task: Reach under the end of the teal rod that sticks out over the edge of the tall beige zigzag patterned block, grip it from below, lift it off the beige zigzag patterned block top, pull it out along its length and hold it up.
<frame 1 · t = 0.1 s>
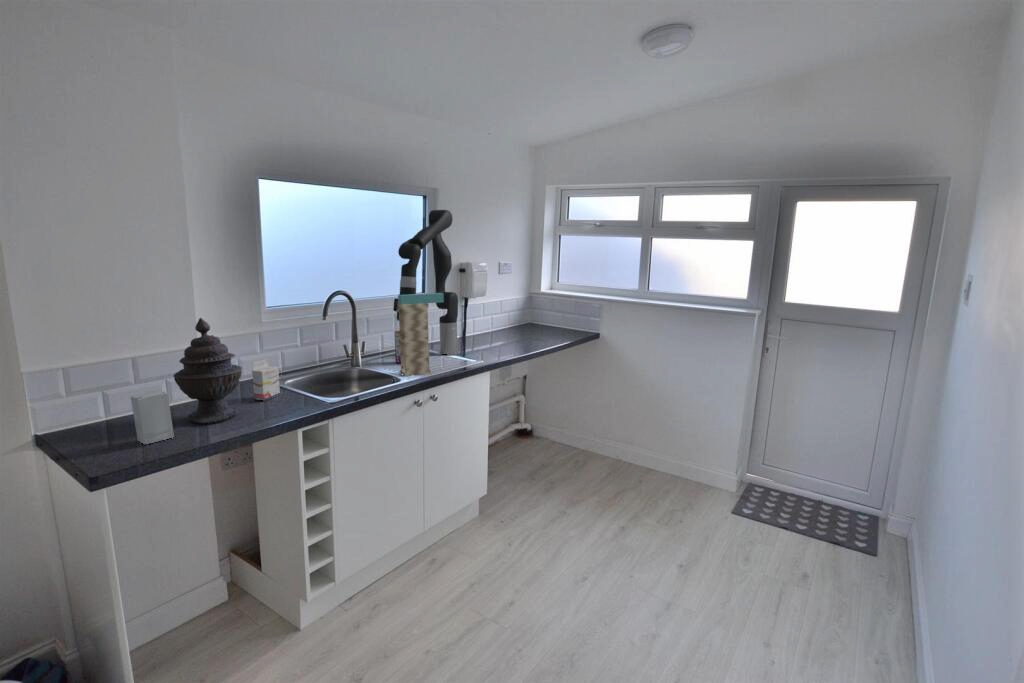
hand: (406, 321, 253), 22 cm above the worktop, tool pointing down, fingers open, 8 cm apart
ink cartridge box: (267, 398, 206), on the worktop
candy bar box: (407, 363, 267), on the worktop
beige zigzag patterned block: (415, 373, 245), on the worktop
skincare box: (155, 441, 162), on the worktop
decorative urn: (213, 417, 184), on the worktop
rod: (421, 303, 241), point 32 cm above the worktop, touching beige zigzag patterned block
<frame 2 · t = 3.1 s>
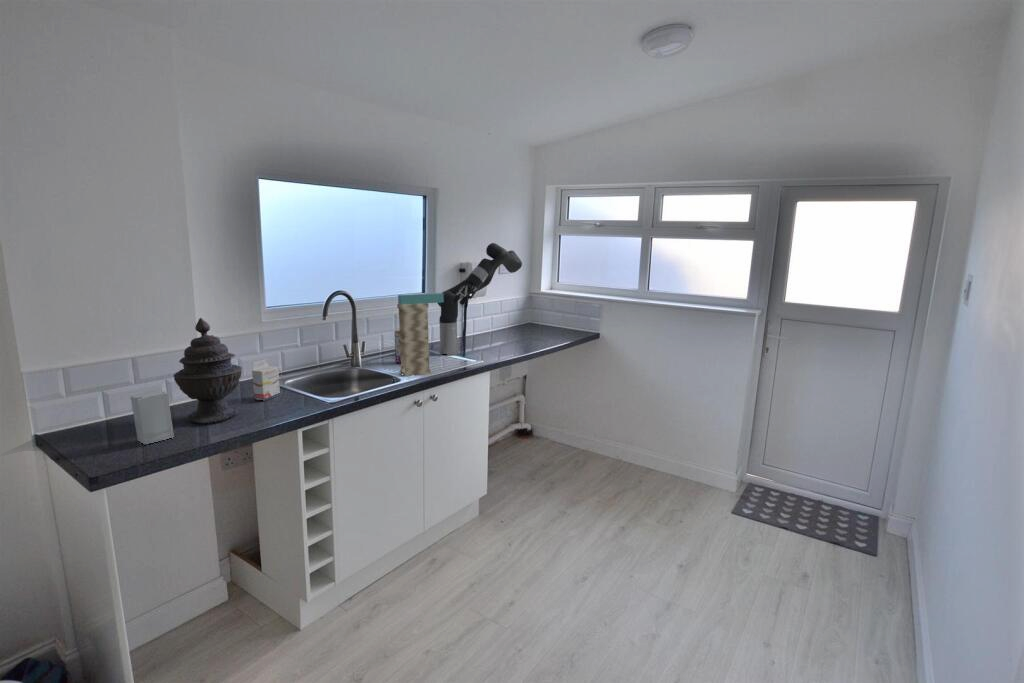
hand: (457, 303, 257), 30 cm above the worktop, tool tilted 45°, fingers open, 8 cm apart
nothing on the worktop moved.
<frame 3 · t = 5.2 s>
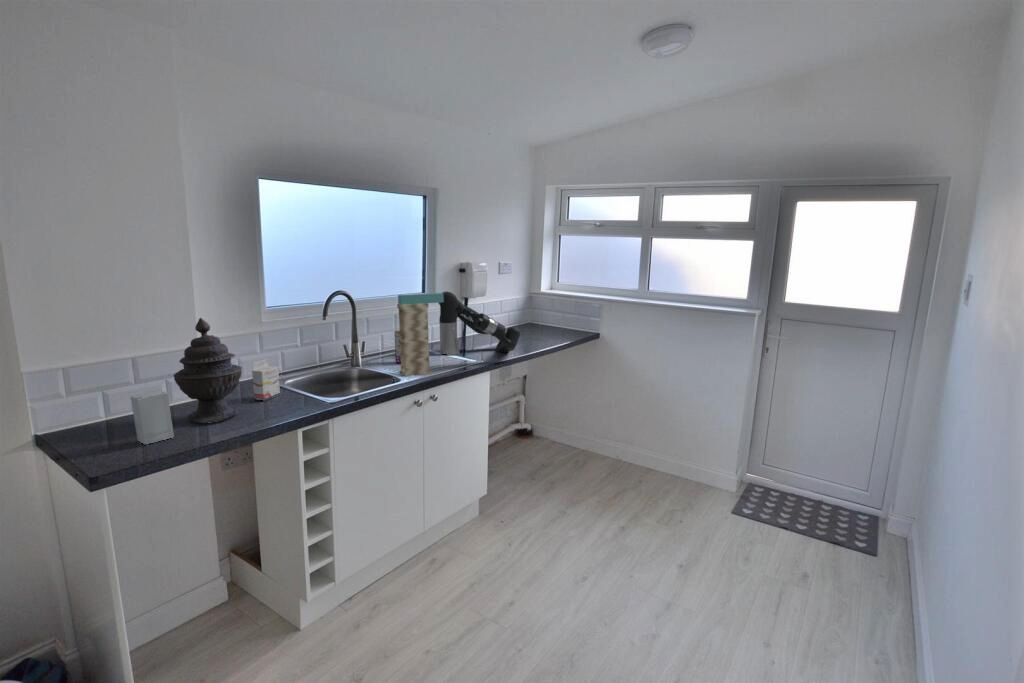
hand: (458, 309, 251), 28 cm above the worktop, tool pointing upward, fingers open, 8 cm apart
nothing on the worktop moved.
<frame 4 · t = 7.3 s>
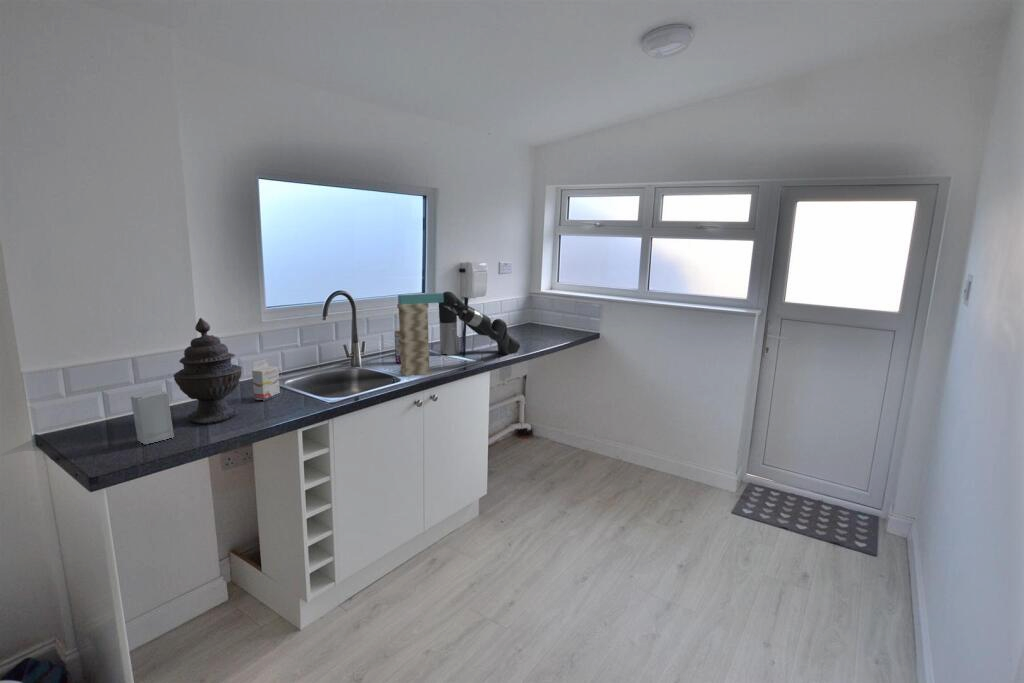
hand: (442, 301, 246), 32 cm above the worktop, tool pointing upward, fingers open, 8 cm apart
nothing on the worktop moved.
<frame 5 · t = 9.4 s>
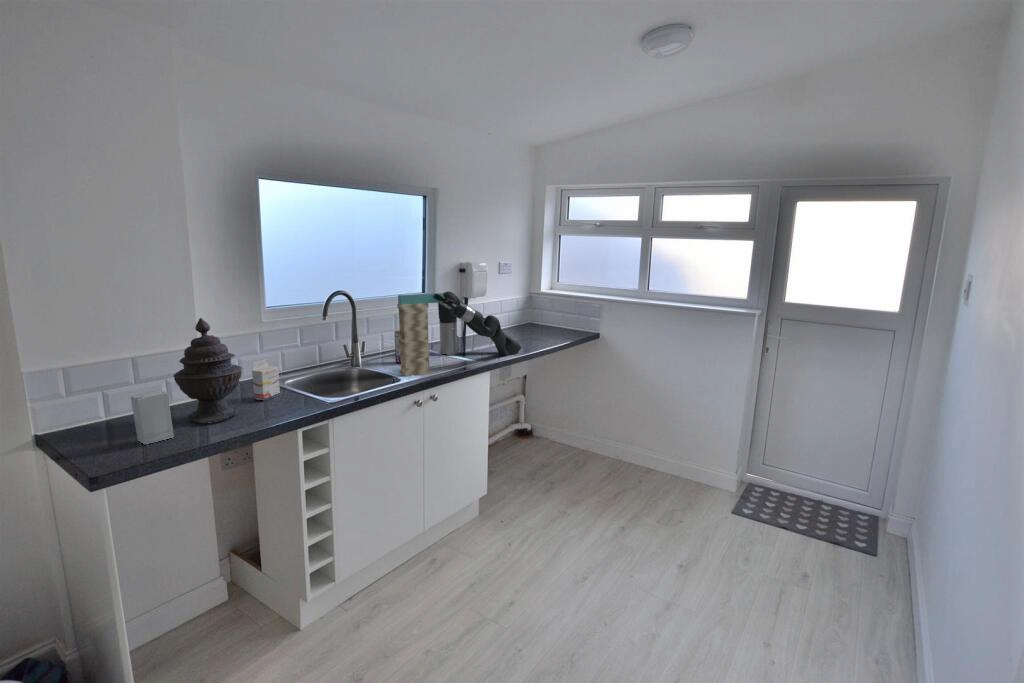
hand: (432, 295, 244), 35 cm above the worktop, tool pointing upward, fingers closed on rod, 4 cm apart
rod: (421, 303, 241), point 32 cm above the worktop, touching gripper, beige zigzag patterned block
everything else where it was.
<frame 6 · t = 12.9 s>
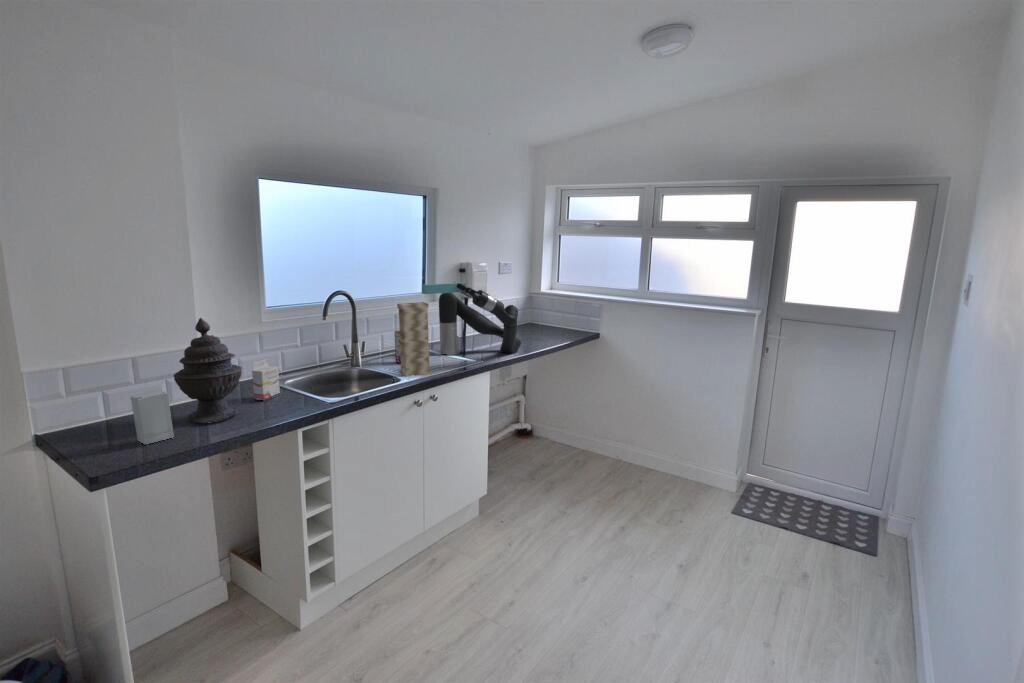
hand: (455, 284, 248), 40 cm above the worktop, tool pointing upward, fingers closed on rod, 4 cm apart
rod: (444, 292, 246), point 36 cm above the worktop, touching gripper
everything else where it was.
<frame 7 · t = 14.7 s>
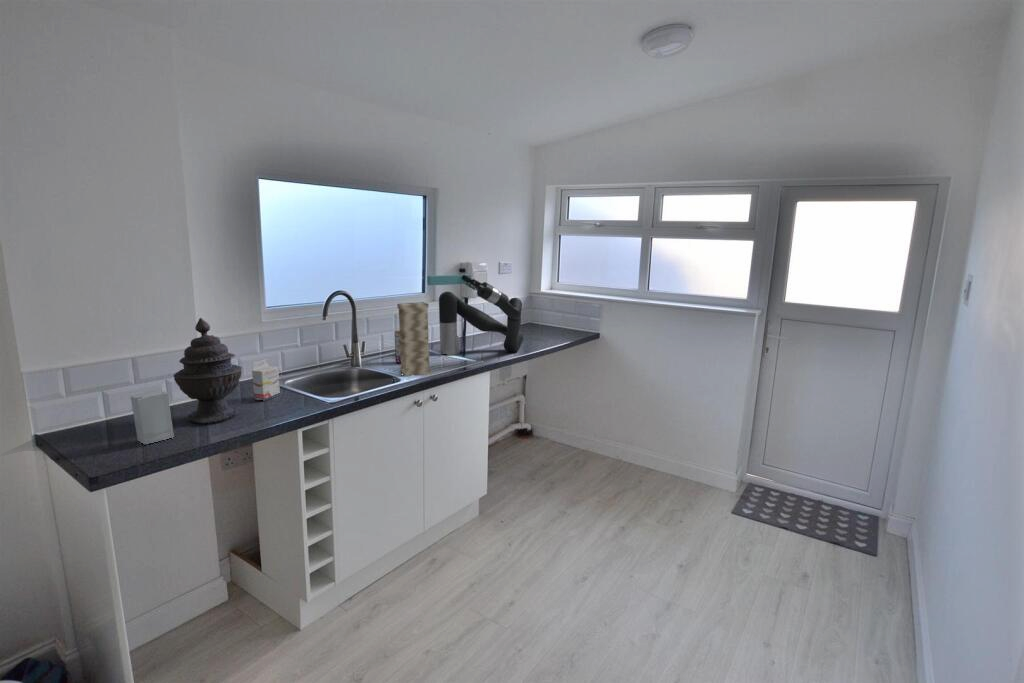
hand: (460, 276, 249), 43 cm above the worktop, tool pointing upward, fingers closed on rod, 4 cm apart
rod: (449, 284, 247), point 40 cm above the worktop, touching gripper
everything else where it was.
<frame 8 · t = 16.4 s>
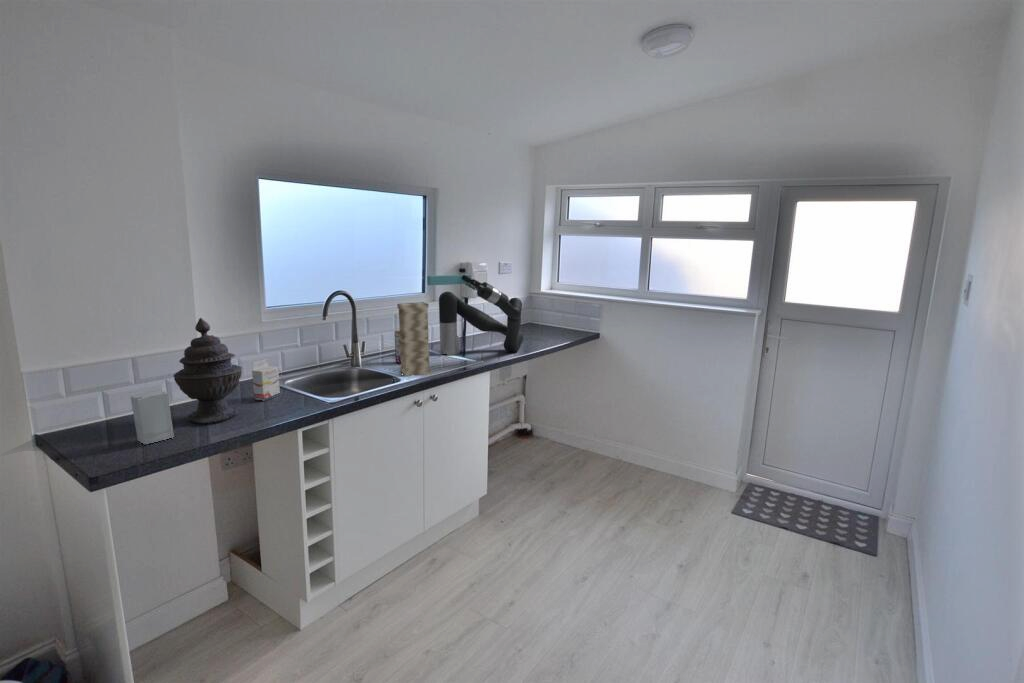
hand: (460, 276, 249), 43 cm above the worktop, tool pointing upward, fingers closed on rod, 4 cm apart
rod: (449, 284, 247), point 40 cm above the worktop, touching gripper
everything else where it was.
at the end: the gripper is holding rod; rod touching gripper; rod moved 16.0 cm from its start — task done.
